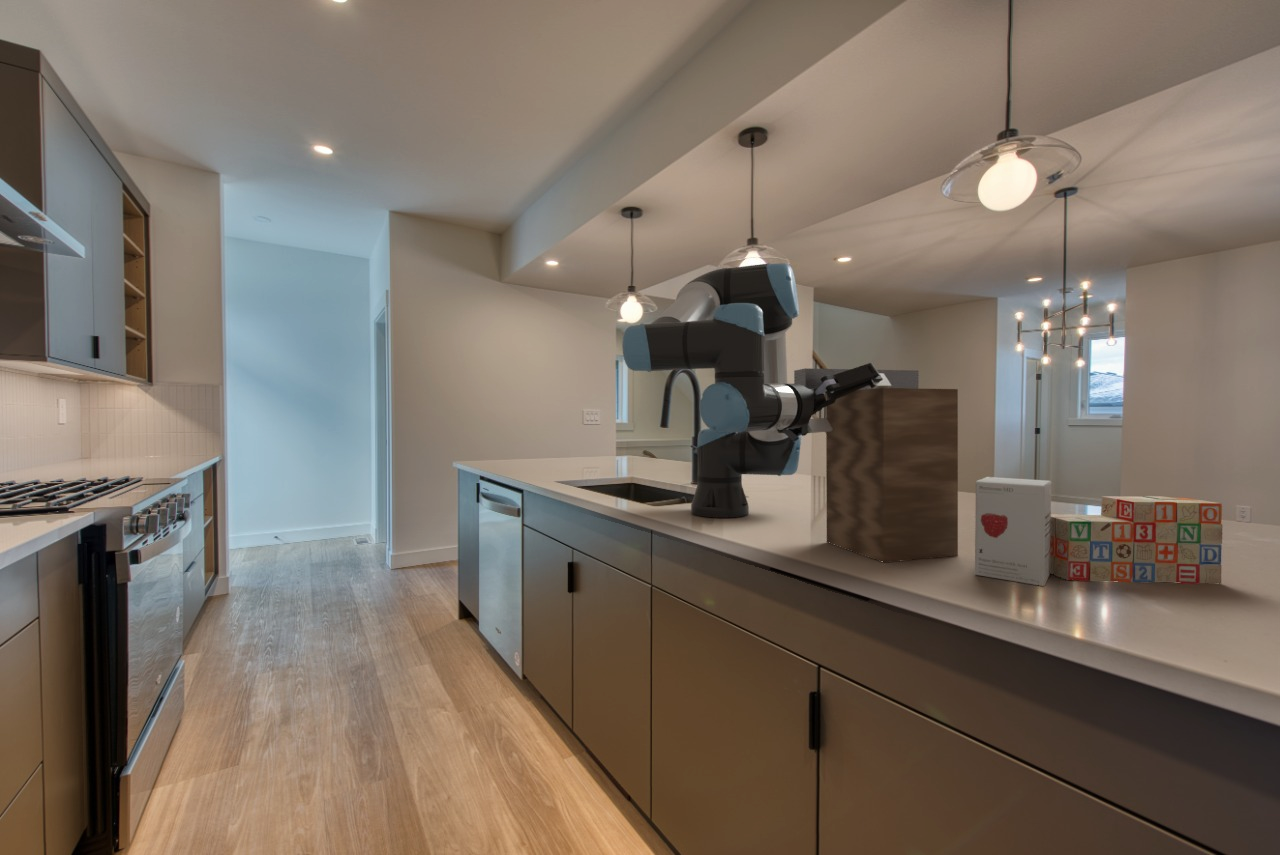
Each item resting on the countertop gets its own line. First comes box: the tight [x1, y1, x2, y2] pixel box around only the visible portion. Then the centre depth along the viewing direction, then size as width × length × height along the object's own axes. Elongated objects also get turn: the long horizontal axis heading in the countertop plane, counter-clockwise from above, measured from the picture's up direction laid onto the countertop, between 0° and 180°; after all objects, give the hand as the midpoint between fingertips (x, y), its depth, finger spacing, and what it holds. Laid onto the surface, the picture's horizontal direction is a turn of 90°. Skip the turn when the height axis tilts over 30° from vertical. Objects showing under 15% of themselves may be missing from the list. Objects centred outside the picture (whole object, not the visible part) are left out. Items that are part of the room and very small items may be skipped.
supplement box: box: [974, 476, 1053, 587], centre depth 83 cm, size 9×9×15 cm
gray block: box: [793, 368, 919, 390], centre depth 101 cm, size 4×24×4 cm, turn 103°
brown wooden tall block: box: [825, 388, 959, 563], centre depth 101 cm, size 16×16×34 cm
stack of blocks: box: [1050, 495, 1223, 584], centre depth 82 cm, size 21×6×12 cm, turn 85°
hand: (856, 403), depth 100 cm, fingers open, 14 cm apart
